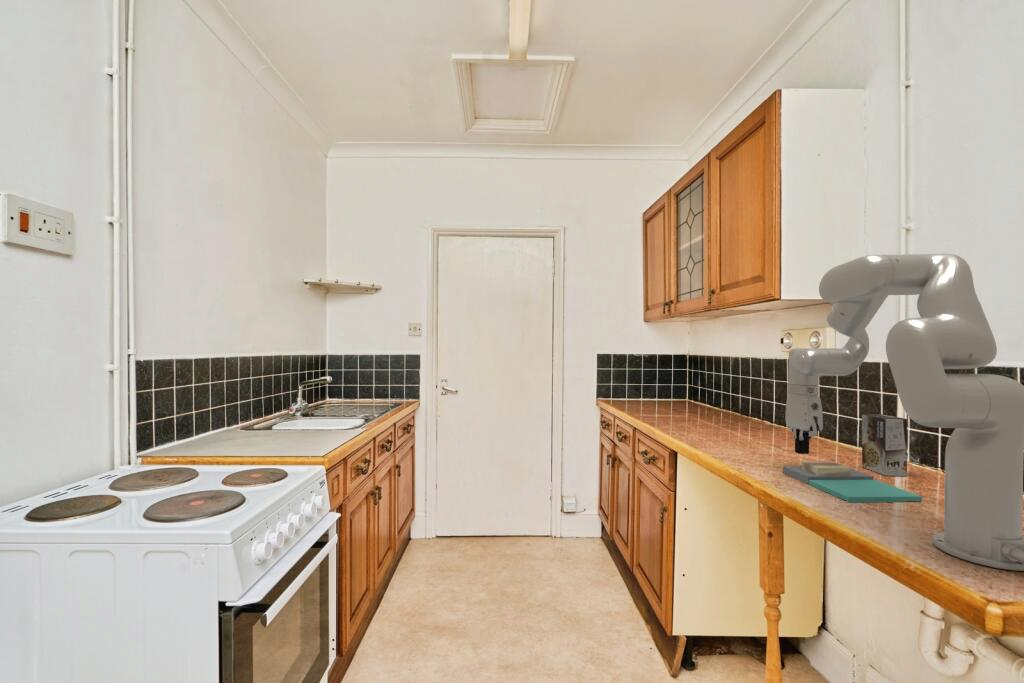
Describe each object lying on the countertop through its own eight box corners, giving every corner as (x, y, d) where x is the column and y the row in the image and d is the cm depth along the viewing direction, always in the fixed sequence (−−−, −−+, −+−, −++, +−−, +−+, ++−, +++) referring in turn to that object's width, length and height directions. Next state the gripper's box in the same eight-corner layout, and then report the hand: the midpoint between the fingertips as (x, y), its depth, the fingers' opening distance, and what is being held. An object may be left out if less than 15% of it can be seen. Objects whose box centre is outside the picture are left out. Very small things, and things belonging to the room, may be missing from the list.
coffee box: (908, 476, 126) (909, 418, 126) (885, 476, 126) (885, 418, 126) (882, 467, 135) (882, 413, 135) (860, 467, 135) (861, 413, 135)
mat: (921, 501, 106) (921, 496, 106) (848, 502, 105) (848, 497, 105) (874, 484, 119) (874, 479, 119) (808, 484, 118) (808, 480, 118)
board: (873, 483, 119) (873, 476, 119) (807, 484, 118) (807, 476, 118) (843, 472, 129) (843, 465, 129) (782, 473, 128) (782, 466, 128)
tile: (850, 475, 120) (850, 467, 120) (817, 475, 119) (817, 467, 119) (833, 468, 126) (833, 461, 126) (802, 469, 125) (802, 461, 125)
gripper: (835, 394, 124) (833, 460, 125) (797, 387, 139) (796, 446, 140) (808, 393, 124) (807, 460, 124) (774, 387, 139) (773, 446, 139)
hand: (801, 453), depth 132 cm, fingers closed
